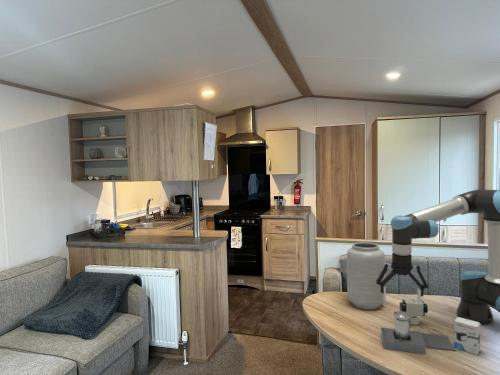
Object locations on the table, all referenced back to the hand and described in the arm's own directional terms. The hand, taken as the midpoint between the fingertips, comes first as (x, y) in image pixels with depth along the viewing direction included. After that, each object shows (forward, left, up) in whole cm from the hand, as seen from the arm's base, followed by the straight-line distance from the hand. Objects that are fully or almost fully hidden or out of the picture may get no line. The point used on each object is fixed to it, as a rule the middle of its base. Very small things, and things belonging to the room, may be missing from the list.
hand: (401, 302), depth 141 cm
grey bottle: (0, 0, -19) cm, 19 cm away
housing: (0, 0, -19) cm, 19 cm away
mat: (-14, -5, -19) cm, 24 cm away
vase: (+13, -40, -19) cm, 46 cm away
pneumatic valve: (-8, -22, -19) cm, 30 cm away
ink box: (-25, -2, -19) cm, 32 cm away
